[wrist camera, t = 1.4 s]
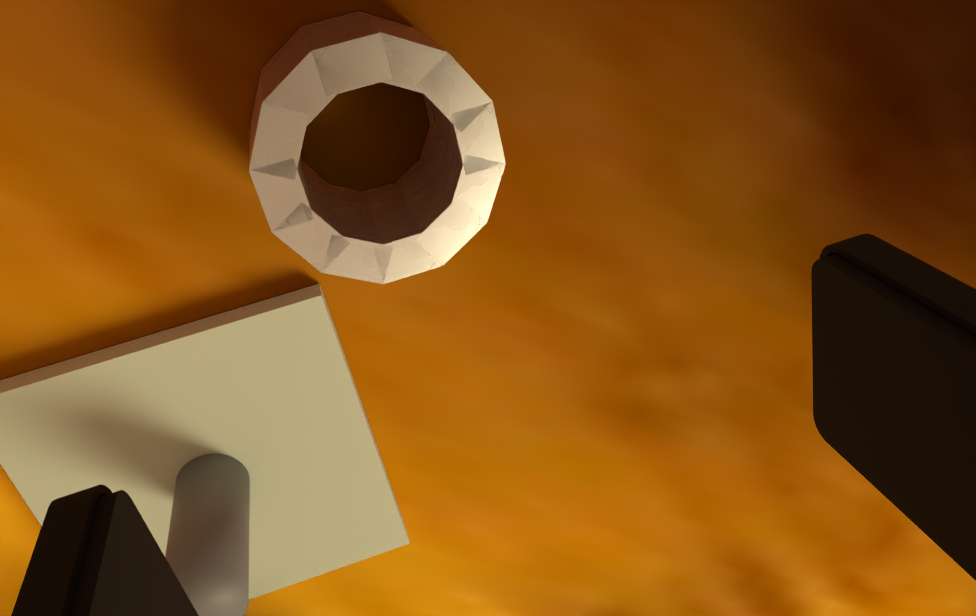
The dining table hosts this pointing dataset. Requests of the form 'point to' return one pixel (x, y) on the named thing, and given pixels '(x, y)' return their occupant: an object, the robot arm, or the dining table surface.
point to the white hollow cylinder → (389, 208)
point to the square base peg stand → (216, 447)
